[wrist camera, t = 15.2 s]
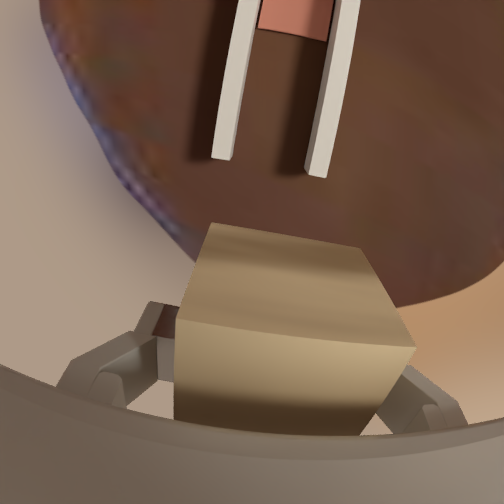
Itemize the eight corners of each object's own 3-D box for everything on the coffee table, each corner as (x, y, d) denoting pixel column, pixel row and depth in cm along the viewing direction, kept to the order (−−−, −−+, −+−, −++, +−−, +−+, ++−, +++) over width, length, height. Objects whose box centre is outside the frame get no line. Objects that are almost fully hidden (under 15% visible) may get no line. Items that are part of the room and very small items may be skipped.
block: (211, 222, 10) (175, 317, 6) (360, 248, 11) (417, 346, 6) (197, 340, 12) (174, 447, 8) (319, 356, 13) (338, 461, 8)
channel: (250, -33, 20) (249, -46, 18) (354, -12, 21) (363, -22, 18) (215, 152, 28) (211, 157, 25) (319, 170, 29) (326, 178, 26)
